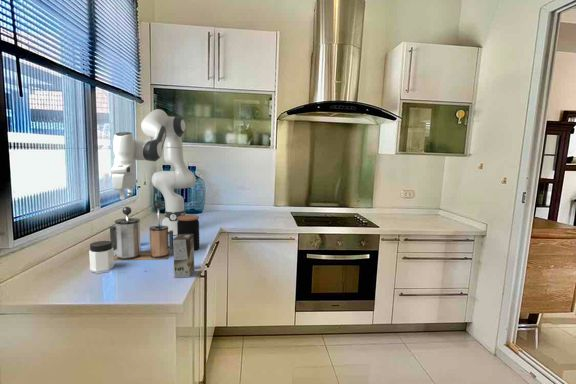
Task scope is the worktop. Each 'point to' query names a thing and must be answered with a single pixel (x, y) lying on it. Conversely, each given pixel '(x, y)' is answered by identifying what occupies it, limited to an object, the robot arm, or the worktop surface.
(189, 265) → the coffee box
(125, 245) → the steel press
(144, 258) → the board
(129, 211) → the steel plunger
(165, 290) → the worktop surface
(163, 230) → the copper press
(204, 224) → the worktop surface
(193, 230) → the coffee jar
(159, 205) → the ball knob plunger
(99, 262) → the jar
